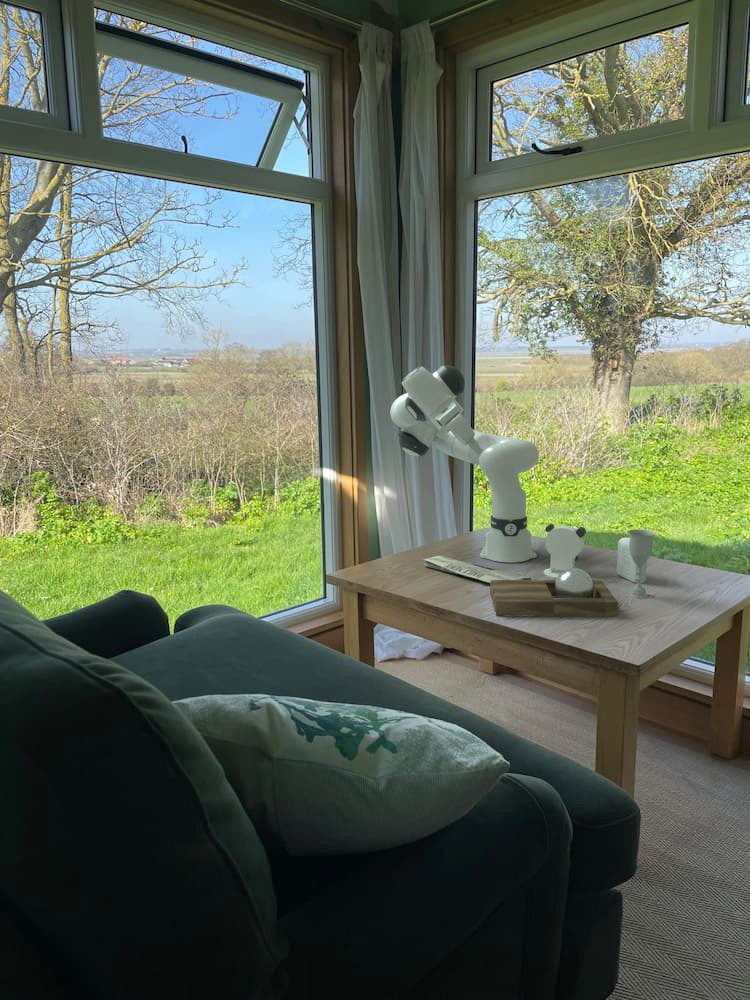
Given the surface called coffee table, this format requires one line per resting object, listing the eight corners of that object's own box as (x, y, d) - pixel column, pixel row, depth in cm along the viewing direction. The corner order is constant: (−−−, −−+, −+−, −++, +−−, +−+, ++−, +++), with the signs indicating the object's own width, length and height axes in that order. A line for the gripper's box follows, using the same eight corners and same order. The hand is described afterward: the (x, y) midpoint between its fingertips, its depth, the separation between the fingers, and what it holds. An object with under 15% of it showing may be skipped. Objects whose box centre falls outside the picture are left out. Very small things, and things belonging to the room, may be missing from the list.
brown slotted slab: (490, 593, 205) (490, 579, 204) (600, 593, 202) (601, 580, 201) (495, 615, 187) (496, 601, 186) (617, 616, 185) (617, 601, 184)
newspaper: (531, 583, 214) (531, 572, 214) (506, 593, 206) (506, 581, 205) (441, 561, 239) (441, 550, 239) (416, 569, 231) (416, 558, 230)
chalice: (619, 592, 203) (622, 531, 199) (638, 589, 205) (642, 528, 201) (637, 600, 196) (640, 536, 192) (657, 597, 198) (660, 534, 195)
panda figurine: (586, 570, 223) (588, 524, 220) (579, 581, 214) (581, 532, 211) (548, 566, 229) (549, 520, 226) (539, 576, 219) (540, 528, 216)
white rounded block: (648, 582, 211) (650, 542, 208) (635, 584, 209) (637, 543, 207) (626, 573, 220) (628, 534, 218) (614, 574, 219) (616, 535, 217)
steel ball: (590, 567, 198) (584, 602, 199) (554, 562, 198) (548, 597, 199) (600, 574, 188) (594, 611, 189) (562, 569, 188) (556, 606, 189)
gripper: (439, 426, 209) (471, 462, 208) (438, 420, 188) (473, 459, 187) (456, 412, 208) (487, 447, 207) (456, 404, 188) (491, 443, 187)
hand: (480, 453), depth 197 cm, fingers closed
